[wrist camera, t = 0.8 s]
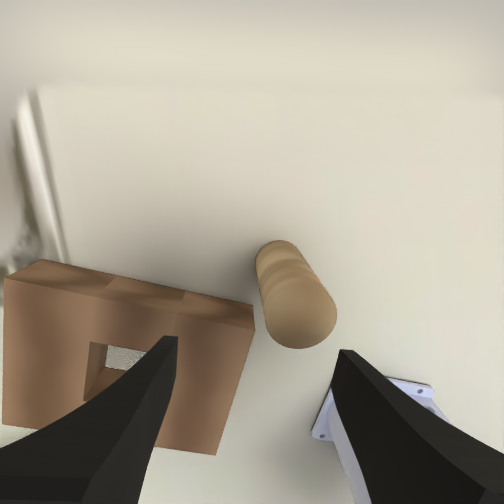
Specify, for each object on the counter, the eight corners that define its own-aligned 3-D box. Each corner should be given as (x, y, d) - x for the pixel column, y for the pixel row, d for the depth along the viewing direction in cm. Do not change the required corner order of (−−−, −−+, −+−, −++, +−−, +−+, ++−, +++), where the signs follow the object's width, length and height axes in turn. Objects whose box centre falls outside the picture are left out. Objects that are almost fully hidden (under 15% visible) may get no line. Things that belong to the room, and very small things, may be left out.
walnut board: (252, 305, 22) (255, 330, 19) (218, 417, 26) (215, 455, 23) (42, 259, 20) (4, 277, 17) (34, 387, 24) (2, 424, 21)
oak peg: (308, 246, 21) (347, 294, 14) (293, 288, 22) (322, 354, 15) (262, 235, 21) (277, 277, 13) (250, 278, 22) (256, 341, 14)
